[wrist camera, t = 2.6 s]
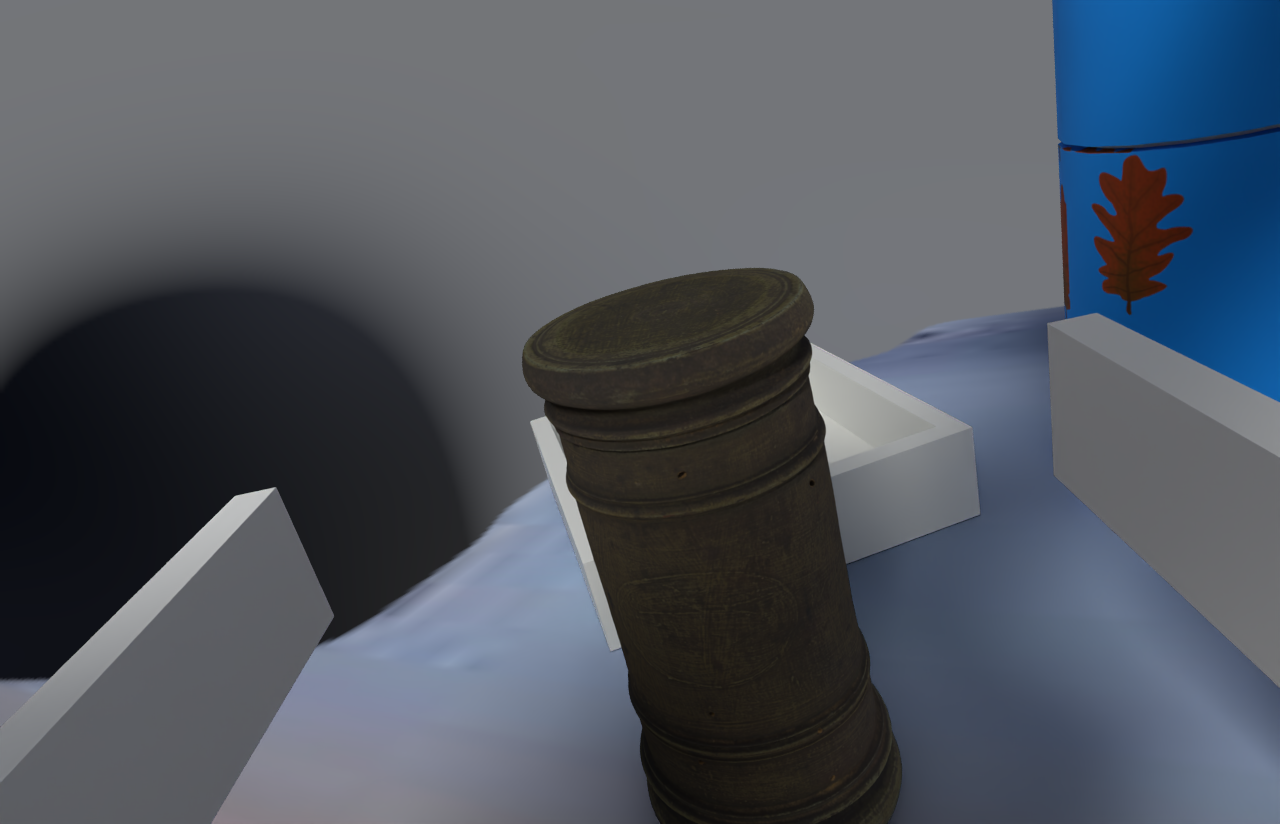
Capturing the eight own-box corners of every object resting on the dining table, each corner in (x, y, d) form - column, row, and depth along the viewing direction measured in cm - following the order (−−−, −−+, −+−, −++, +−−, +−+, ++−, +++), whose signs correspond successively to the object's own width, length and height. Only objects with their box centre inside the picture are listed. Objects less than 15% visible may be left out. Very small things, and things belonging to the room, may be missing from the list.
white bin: (808, 398, 59) (797, 335, 57) (980, 514, 41) (972, 427, 39) (550, 484, 56) (529, 421, 54) (610, 651, 38) (583, 563, 36)
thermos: (1266, 565, 33) (1313, -135, 24) (1027, 490, 42) (994, -39, 32) (1383, 458, 37) (1461, -166, 28) (1145, 410, 46) (1145, -75, 37)
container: (955, 818, 26) (889, 288, 19) (700, 937, 24) (533, 404, 18) (822, 657, 34) (744, 246, 27) (625, 738, 32) (492, 323, 26)
